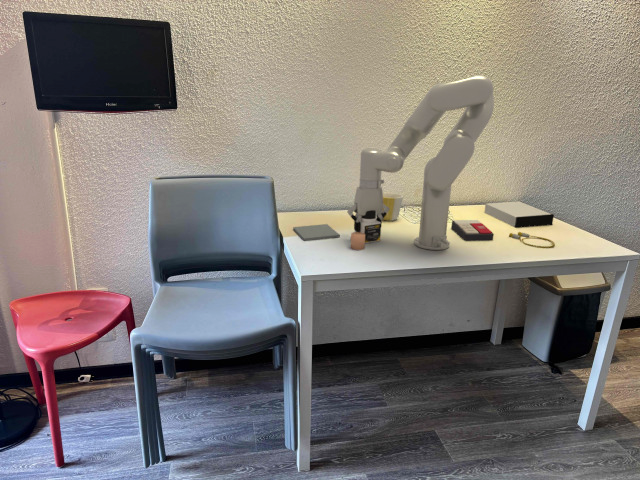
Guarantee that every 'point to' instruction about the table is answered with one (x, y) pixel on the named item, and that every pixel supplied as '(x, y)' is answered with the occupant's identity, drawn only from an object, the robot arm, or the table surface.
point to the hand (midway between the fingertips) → (367, 230)
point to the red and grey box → (472, 230)
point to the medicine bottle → (370, 227)
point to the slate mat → (316, 232)
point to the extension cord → (529, 238)
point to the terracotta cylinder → (357, 241)
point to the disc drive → (518, 214)
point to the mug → (392, 205)
